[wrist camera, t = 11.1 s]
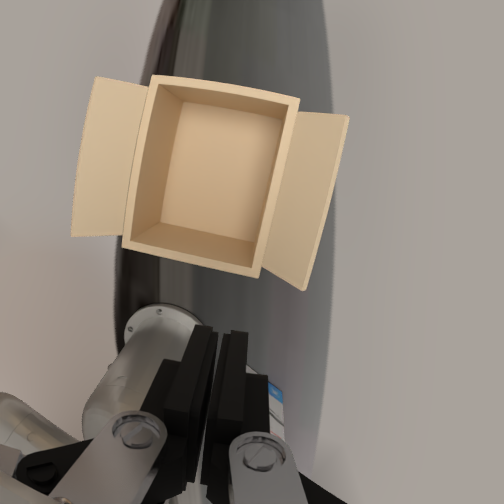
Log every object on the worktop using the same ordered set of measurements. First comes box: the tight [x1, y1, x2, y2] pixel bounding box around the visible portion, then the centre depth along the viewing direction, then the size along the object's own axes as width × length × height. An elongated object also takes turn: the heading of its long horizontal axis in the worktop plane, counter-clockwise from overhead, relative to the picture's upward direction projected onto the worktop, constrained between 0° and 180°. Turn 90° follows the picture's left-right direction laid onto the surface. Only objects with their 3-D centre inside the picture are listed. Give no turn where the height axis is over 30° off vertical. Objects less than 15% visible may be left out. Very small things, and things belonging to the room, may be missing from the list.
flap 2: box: [262, 112, 350, 291], centre depth 24 cm, size 5×14×1 cm
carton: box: [122, 75, 300, 278], centre depth 31 cm, size 16×13×10 cm
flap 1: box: [71, 77, 148, 237], centre depth 24 cm, size 5×14×1 cm
